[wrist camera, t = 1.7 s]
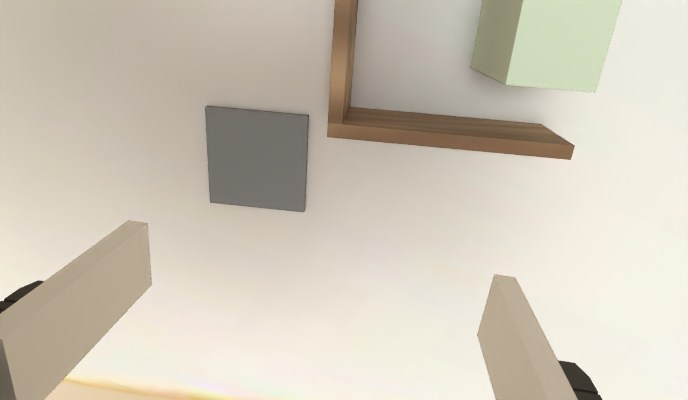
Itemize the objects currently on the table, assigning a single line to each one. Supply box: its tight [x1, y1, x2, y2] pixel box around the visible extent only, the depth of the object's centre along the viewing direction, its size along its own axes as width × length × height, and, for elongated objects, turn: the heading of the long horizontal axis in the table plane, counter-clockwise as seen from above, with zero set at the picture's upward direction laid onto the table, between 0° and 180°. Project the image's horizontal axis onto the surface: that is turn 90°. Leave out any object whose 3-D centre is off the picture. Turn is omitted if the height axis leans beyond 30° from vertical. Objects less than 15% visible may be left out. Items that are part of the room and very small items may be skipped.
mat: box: [205, 106, 309, 212], centre depth 39 cm, size 9×9×1 cm
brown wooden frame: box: [327, 0, 574, 160], centre depth 31 cm, size 15×17×7 cm
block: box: [471, 0, 622, 92], centre depth 28 cm, size 5×5×11 cm
